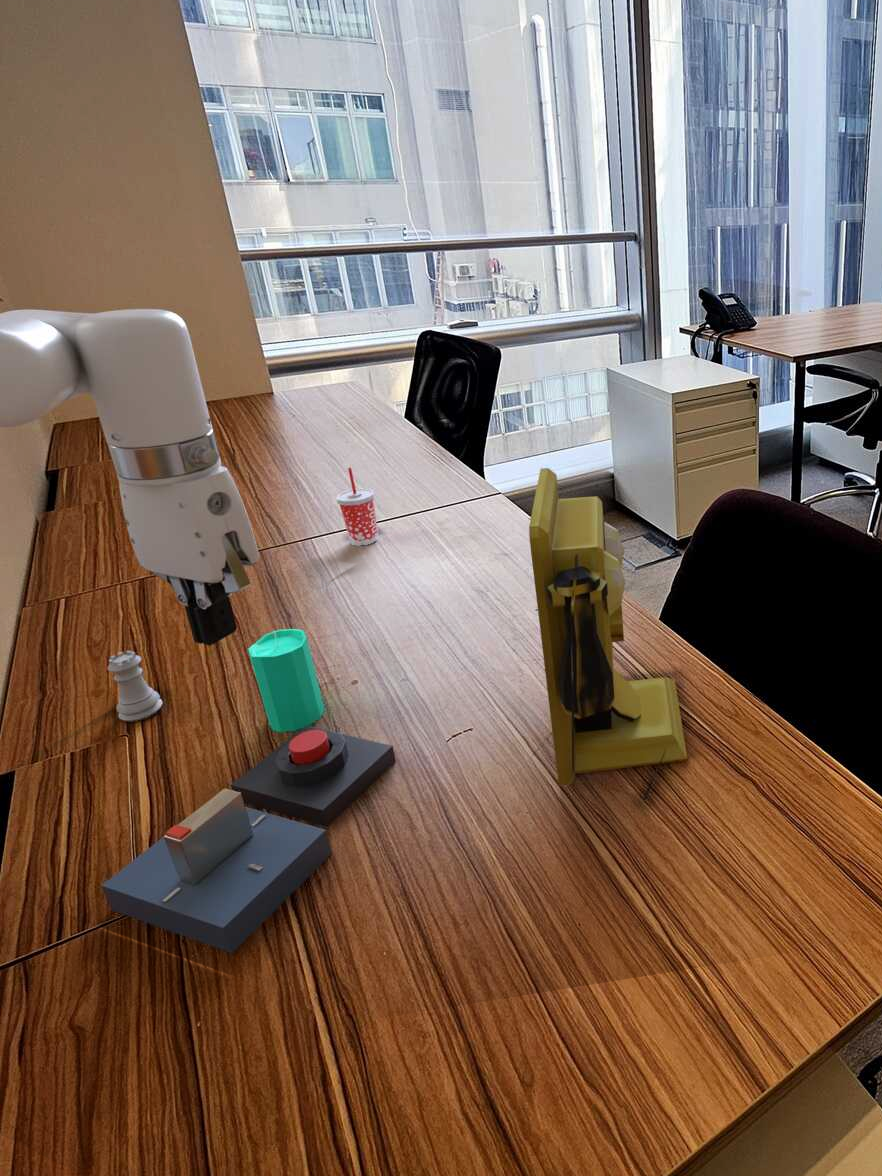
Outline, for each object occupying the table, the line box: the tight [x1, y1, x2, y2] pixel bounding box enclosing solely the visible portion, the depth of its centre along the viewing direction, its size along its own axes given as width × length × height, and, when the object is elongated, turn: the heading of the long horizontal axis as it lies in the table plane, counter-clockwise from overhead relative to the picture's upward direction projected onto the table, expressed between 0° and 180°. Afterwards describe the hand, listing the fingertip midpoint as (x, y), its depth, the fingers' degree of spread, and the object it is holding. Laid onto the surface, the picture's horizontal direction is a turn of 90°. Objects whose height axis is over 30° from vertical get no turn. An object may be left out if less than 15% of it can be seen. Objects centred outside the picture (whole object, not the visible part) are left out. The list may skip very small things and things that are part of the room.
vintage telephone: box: [528, 467, 688, 802], centre depth 85 cm, size 31×14×30 cm, turn 9°
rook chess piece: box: [106, 650, 163, 723], centre depth 93 cm, size 4×4×8 cm
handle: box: [162, 788, 254, 884], centre depth 70 cm, size 6×2×5 cm, turn 162°
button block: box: [230, 725, 397, 828], centre depth 83 cm, size 12×10×4 cm
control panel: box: [100, 806, 333, 954], centre depth 71 cm, size 14×11×3 cm
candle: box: [247, 628, 325, 733], centre depth 92 cm, size 6×6×12 cm
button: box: [289, 730, 330, 765], centre depth 82 cm, size 4×4×2 cm
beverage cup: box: [335, 467, 379, 547], centre depth 138 cm, size 6×6×14 cm
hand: (216, 636), depth 74 cm, fingers closed
